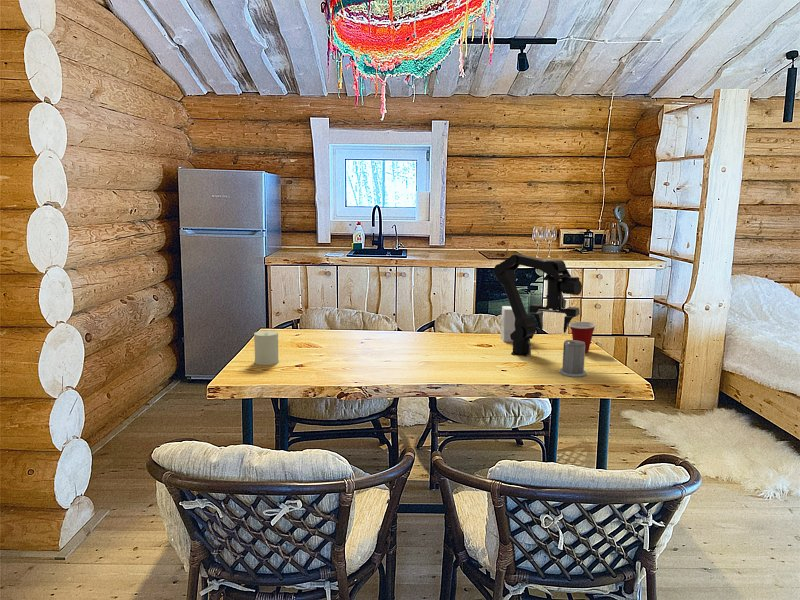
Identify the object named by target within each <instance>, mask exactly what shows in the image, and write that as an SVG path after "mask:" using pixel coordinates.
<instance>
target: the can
mask: <svg viewBox="0 0 800 600" xmlns="http://www.w3.org/2000/svg"><path fill="white" fill-rule="evenodd" d="M253 337H254V338H253V340H254V364H255V365H257V364H258V366H273V365H272V364H274V365H277V364H279V362H280V361H279V332H278V331H275V330H258V331H255V332H254V333H253ZM276 363H277V364H276Z"/></svg>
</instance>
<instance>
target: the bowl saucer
mask: <svg viewBox="0 0 800 600" xmlns="http://www.w3.org/2000/svg"><path fill="white" fill-rule="evenodd" d="M559 374H560V375H562V376H565V377H571V378H583V377H586V376H587V371H586V370H584V372H583V373H582V374H569V373H565V372H563V371H562V368H560V369H559Z"/></svg>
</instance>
